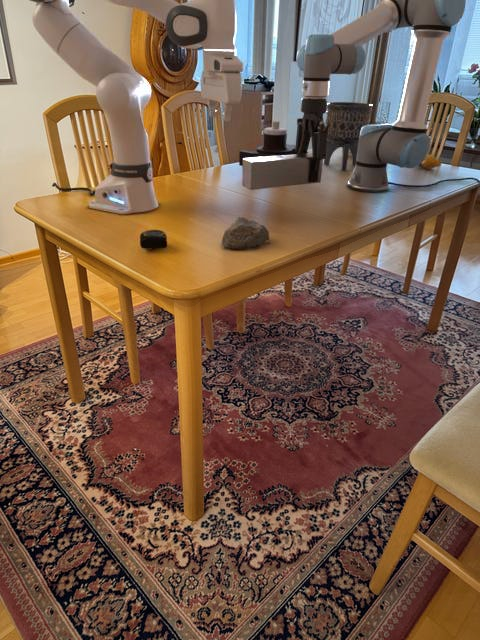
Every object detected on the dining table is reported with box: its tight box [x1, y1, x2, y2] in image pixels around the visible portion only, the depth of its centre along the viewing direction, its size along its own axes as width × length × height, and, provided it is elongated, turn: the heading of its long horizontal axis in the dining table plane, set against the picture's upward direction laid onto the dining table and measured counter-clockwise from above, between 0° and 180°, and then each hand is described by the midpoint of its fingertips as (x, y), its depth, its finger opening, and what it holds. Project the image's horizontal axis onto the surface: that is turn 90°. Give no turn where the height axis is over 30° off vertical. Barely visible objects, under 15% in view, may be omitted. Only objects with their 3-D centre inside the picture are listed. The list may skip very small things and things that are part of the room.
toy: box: [417, 154, 442, 170], centre depth 212 cm, size 11×6×15 cm
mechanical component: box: [238, 120, 310, 167], centre depth 191 cm, size 22×21×30 cm
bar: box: [241, 152, 324, 191], centre depth 137 cm, size 24×6×8 cm, turn 116°
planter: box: [323, 101, 374, 172], centre depth 204 cm, size 20×20×26 cm
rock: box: [221, 216, 270, 250], centre depth 119 cm, size 13×9×6 cm, turn 131°
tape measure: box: [139, 229, 168, 250], centre depth 117 cm, size 7×7×4 cm
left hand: (219, 119), depth 129 cm, fingers open, 8 cm apart
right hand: (307, 179), depth 142 cm, fingers closed on bar, 6 cm apart
